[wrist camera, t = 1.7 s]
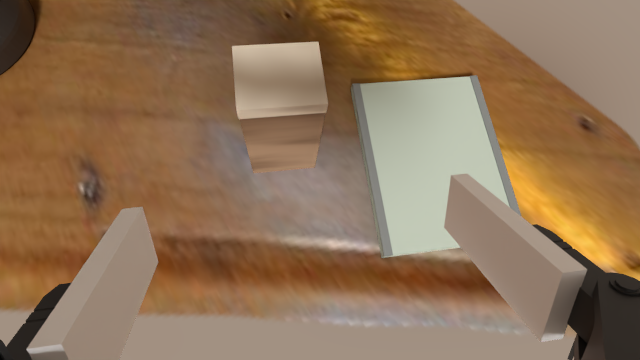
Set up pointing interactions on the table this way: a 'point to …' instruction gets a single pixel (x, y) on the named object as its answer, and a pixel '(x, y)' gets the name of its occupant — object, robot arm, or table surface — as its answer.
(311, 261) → the table surface
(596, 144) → the table surface
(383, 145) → the mat
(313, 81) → the beige block
